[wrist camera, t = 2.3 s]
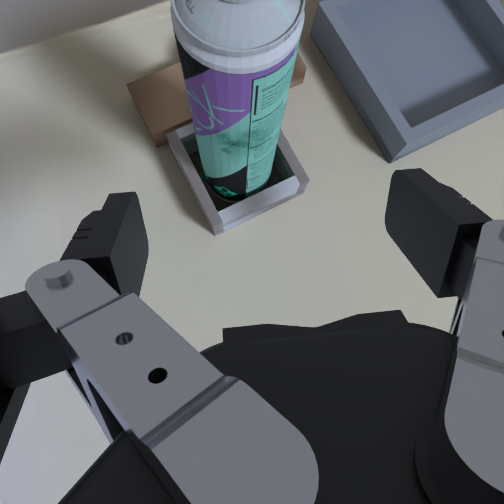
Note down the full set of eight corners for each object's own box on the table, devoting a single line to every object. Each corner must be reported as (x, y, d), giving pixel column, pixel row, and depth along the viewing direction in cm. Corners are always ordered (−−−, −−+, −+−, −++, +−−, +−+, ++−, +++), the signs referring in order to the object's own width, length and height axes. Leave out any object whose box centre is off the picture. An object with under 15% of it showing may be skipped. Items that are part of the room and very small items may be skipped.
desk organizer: (273, 33, 35) (277, 1, 31) (353, 168, 33) (367, 149, 29) (130, 94, 33) (118, 66, 30) (204, 241, 31) (200, 230, 27)
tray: (437, -20, 37) (458, -56, 33) (520, 99, 35) (552, 73, 31) (310, 34, 35) (318, 2, 32) (389, 163, 33) (407, 144, 29)
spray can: (236, 130, 33) (236, -164, 13) (283, 172, 32) (356, -70, 13) (190, 173, 32) (118, -74, 12) (238, 217, 31) (241, 31, 12)
